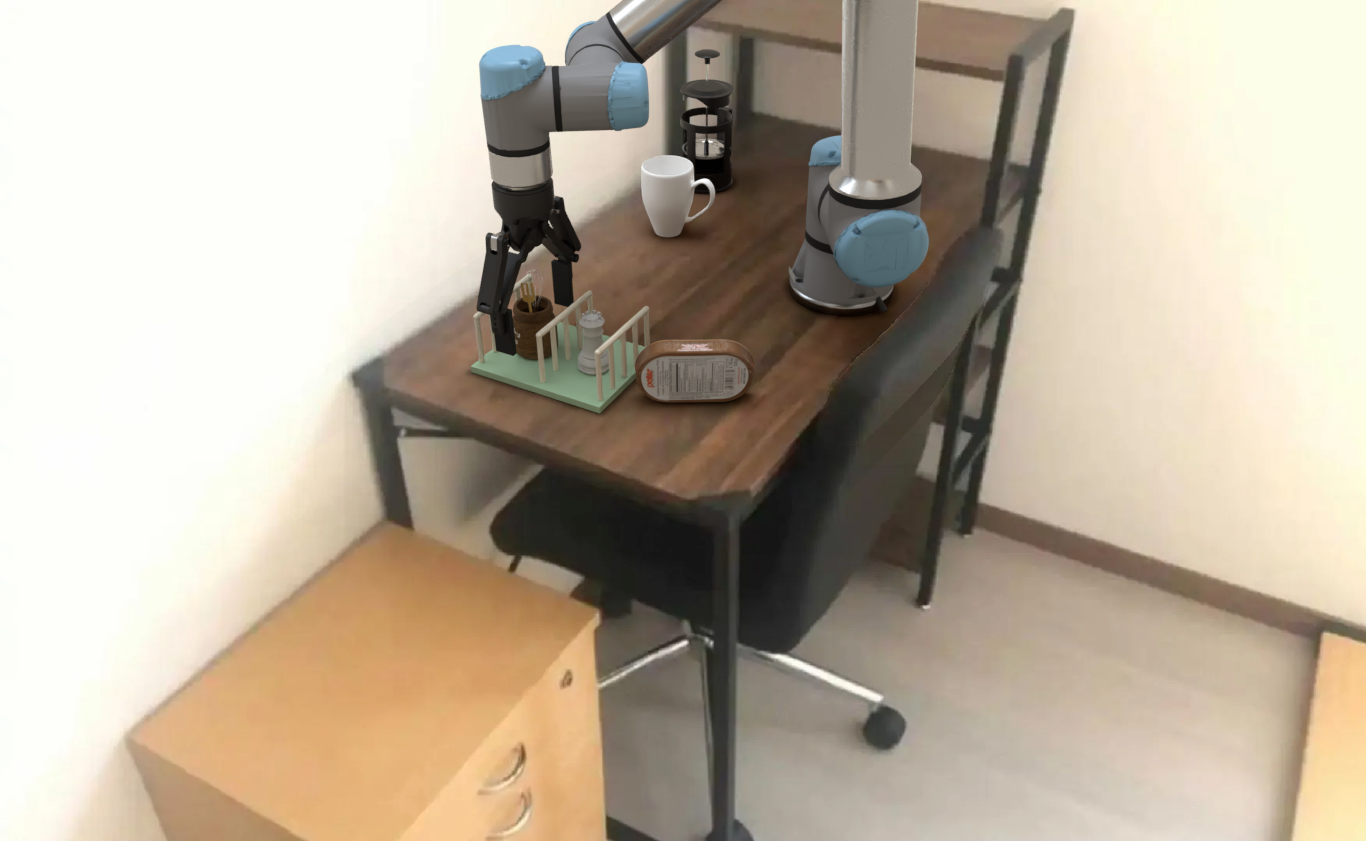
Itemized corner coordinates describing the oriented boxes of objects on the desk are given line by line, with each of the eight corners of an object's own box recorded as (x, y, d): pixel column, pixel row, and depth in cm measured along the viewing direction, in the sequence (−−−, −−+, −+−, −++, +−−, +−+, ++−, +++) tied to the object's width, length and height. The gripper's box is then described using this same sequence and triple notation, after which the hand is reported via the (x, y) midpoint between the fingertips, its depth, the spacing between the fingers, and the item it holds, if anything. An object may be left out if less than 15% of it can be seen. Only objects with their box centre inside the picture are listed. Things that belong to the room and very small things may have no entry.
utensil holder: (560, 337, 154) (554, 259, 147) (556, 362, 149) (549, 283, 142) (517, 337, 154) (509, 259, 147) (512, 362, 149) (503, 283, 142)
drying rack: (658, 356, 152) (657, 302, 147) (599, 413, 141) (596, 357, 136) (535, 320, 159) (530, 268, 154) (471, 372, 149) (463, 317, 144)
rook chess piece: (573, 361, 149) (569, 309, 144) (605, 355, 150) (603, 303, 145) (583, 379, 145) (579, 326, 141) (616, 372, 147) (613, 320, 142)
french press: (709, 200, 191) (711, 66, 178) (666, 186, 196) (664, 54, 182) (748, 177, 199) (753, 47, 185) (705, 164, 203) (707, 36, 190)
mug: (634, 238, 180) (632, 171, 173) (653, 216, 186) (652, 151, 179) (704, 250, 176) (705, 183, 170) (722, 228, 183) (723, 162, 176)
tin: (752, 390, 145) (754, 335, 140) (754, 404, 143) (756, 348, 138) (635, 393, 145) (634, 337, 140) (635, 407, 142) (634, 351, 137)
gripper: (553, 138, 147) (564, 280, 160) (432, 212, 129) (455, 366, 142) (601, 148, 144) (609, 292, 157) (485, 225, 126) (504, 381, 139)
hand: (536, 327), depth 149 cm, fingers open, 13 cm apart
